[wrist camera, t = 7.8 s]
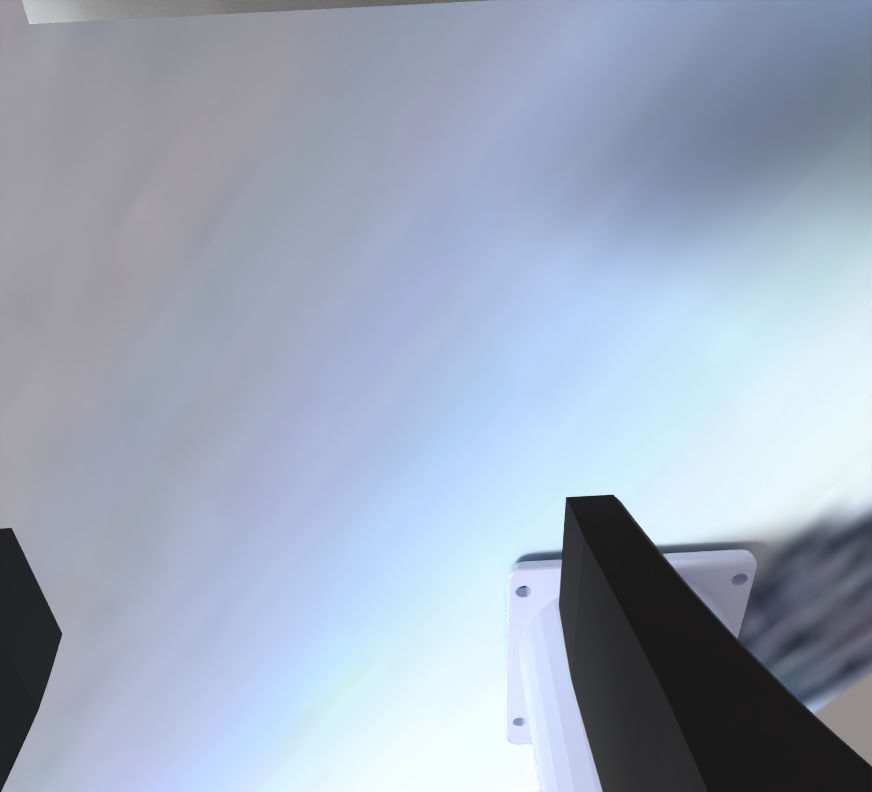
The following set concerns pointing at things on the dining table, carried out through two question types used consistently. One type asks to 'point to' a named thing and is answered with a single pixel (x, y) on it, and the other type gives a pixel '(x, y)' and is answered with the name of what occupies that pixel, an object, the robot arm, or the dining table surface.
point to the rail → (182, 8)
